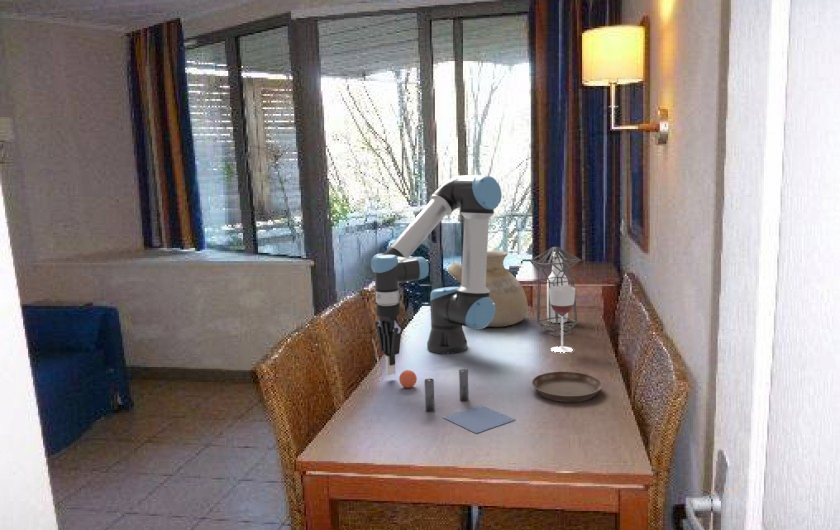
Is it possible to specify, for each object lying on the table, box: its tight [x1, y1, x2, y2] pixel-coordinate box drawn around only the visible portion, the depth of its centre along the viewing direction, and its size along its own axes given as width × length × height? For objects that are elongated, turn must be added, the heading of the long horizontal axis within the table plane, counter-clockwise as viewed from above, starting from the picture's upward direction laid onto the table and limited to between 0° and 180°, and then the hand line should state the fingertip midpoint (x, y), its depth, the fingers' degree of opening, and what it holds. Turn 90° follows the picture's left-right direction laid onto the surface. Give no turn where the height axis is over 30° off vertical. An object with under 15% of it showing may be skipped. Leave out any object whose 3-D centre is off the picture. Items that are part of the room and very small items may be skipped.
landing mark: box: [443, 404, 516, 435], centre depth 184 cm, size 14×14×1 cm
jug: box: [447, 250, 529, 328], centre depth 288 cm, size 29×34×30 cm
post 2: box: [458, 369, 469, 402], centre depth 198 cm, size 3×3×9 cm
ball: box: [398, 369, 418, 389], centre depth 211 cm, size 6×6×6 cm
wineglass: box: [549, 285, 576, 354], centre depth 244 cm, size 9×10×23 cm
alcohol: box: [546, 251, 569, 324], centre depth 285 cm, size 9×9×30 cm
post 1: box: [424, 378, 436, 413], centre depth 191 cm, size 3×3×9 cm
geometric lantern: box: [530, 246, 583, 337], centre depth 266 cm, size 16×16×35 cm
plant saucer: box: [531, 371, 603, 403], centre depth 202 cm, size 21×21×3 cm
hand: (390, 373), depth 219 cm, fingers closed
